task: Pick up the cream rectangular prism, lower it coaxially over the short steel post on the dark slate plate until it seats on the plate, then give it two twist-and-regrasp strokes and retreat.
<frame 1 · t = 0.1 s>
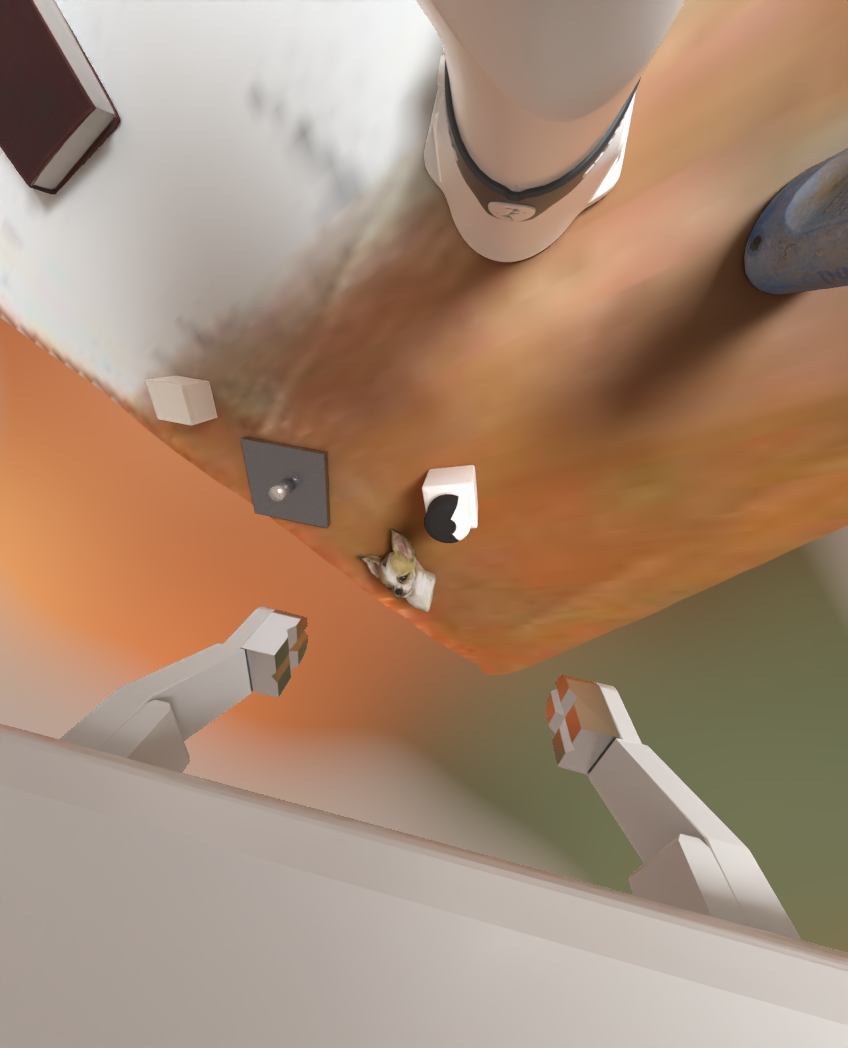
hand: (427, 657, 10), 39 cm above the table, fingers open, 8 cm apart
medicine bottle: (453, 487, 49), on the table
cream rectangular prism: (197, 397, 48), on the table
book: (5, 22, 31), on the table
ceramic sculpture: (406, 560, 59), on the table
grey elongated piece: (802, 234, 30), on the table
post plate: (290, 483, 53), on the table
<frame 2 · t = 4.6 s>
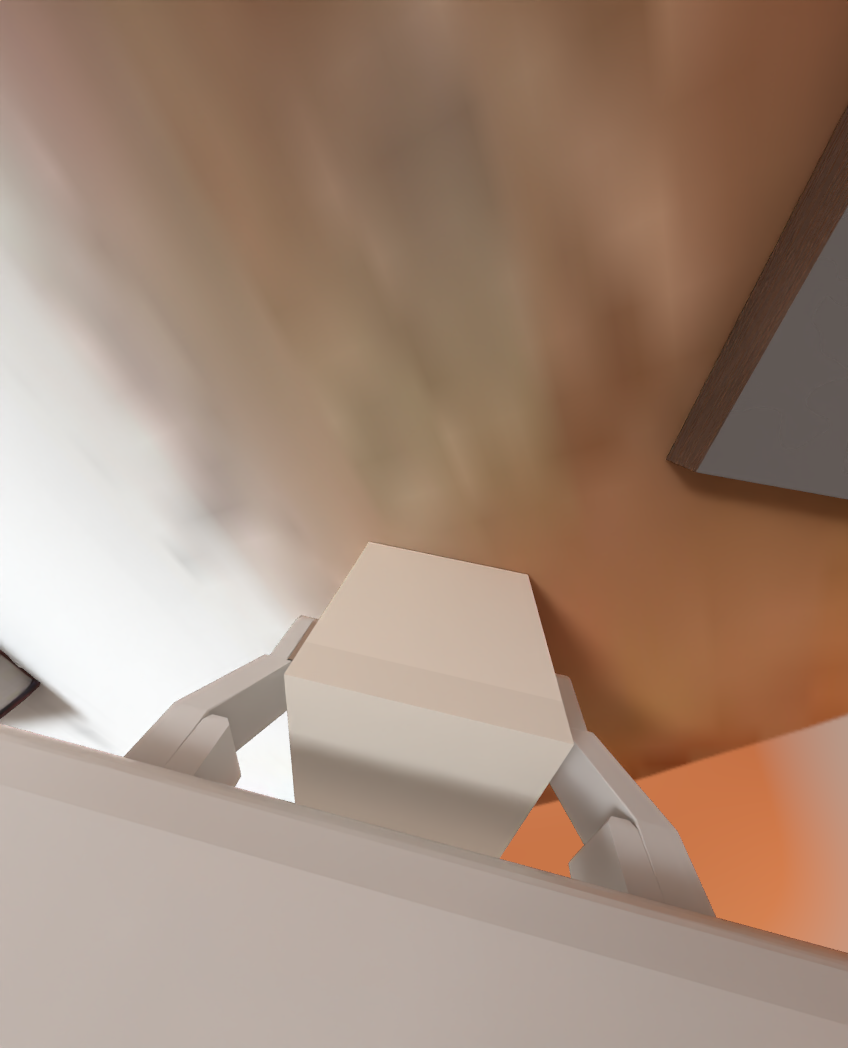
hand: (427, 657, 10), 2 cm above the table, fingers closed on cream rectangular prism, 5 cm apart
cream rectangular prism: (433, 618, 11), on the table, touching gripper
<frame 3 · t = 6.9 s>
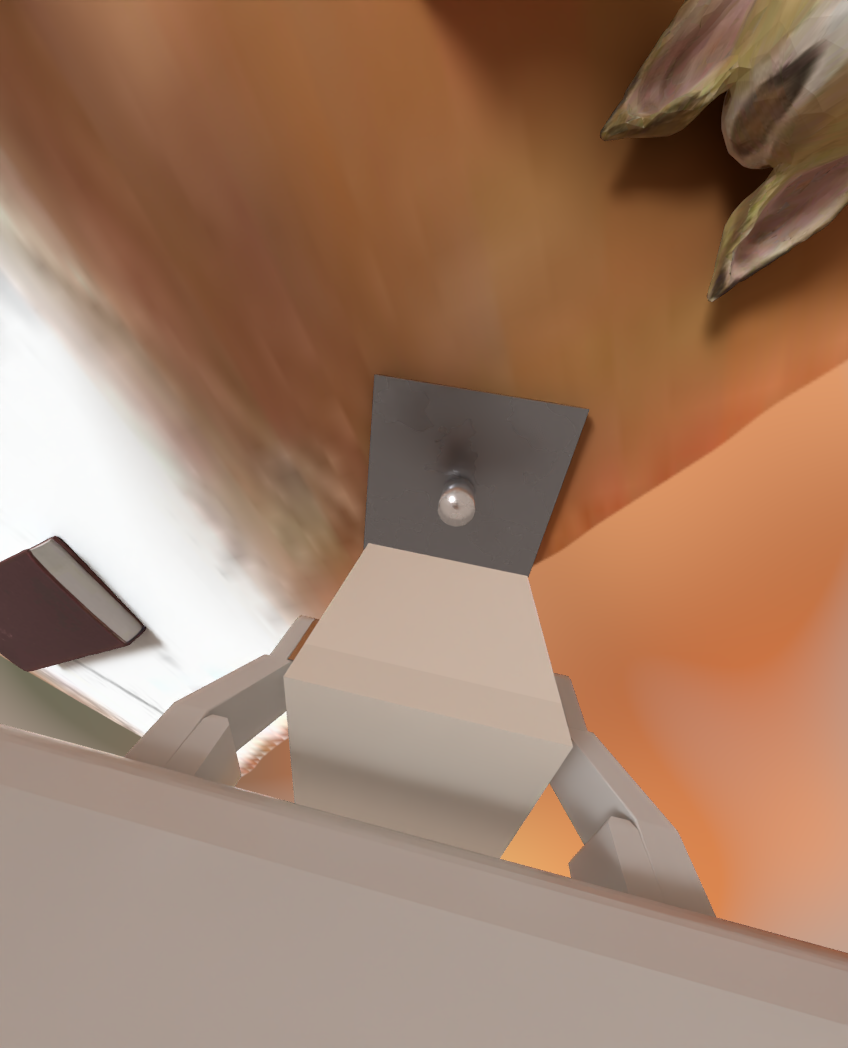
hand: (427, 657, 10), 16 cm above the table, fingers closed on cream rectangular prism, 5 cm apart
cream rectangular prism: (433, 619, 11), point 14 cm above the table, touching gripper
book: (60, 601, 39), on the table
ceramic sculpture: (790, 83, 14), on the table
post plate: (459, 487, 24), on the table
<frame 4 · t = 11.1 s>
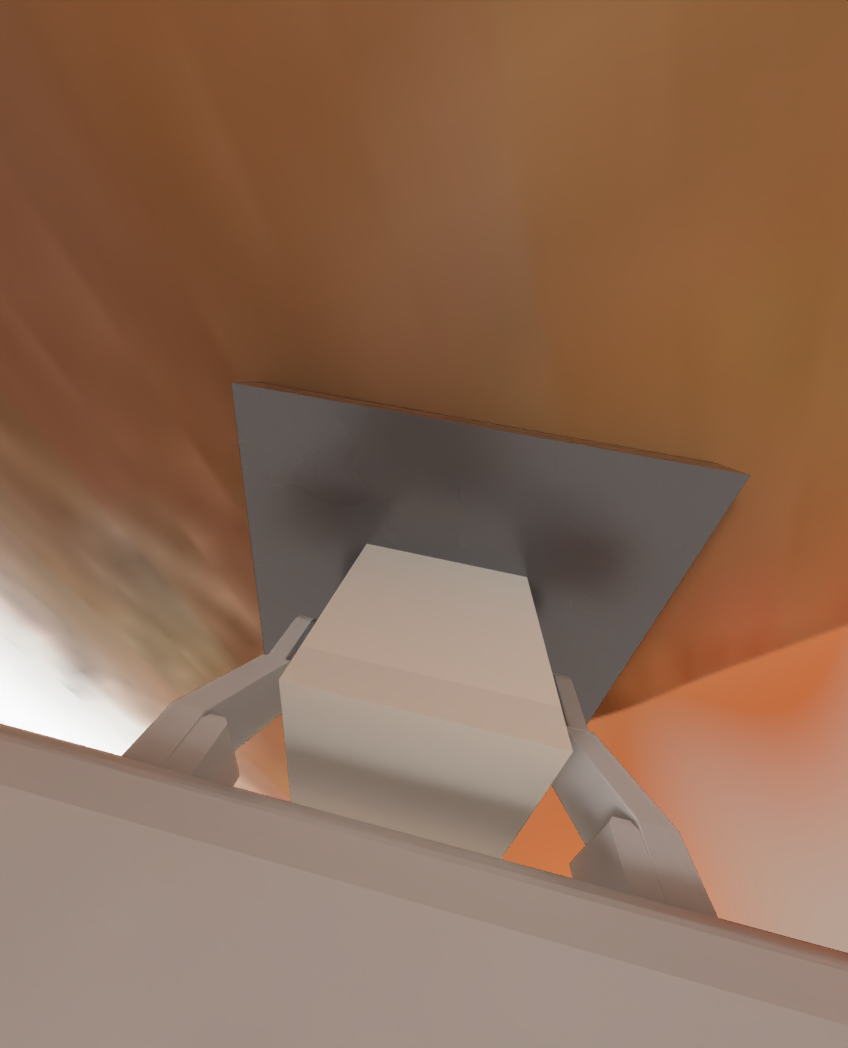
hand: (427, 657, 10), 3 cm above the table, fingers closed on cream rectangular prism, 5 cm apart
cream rectangular prism: (432, 620, 11), point 1 cm above the table, touching gripper, post plate
post plate: (437, 599, 12), on the table
when the fingers open (3 cm above the table, at t = 12.7 s): cream rectangular prism stays where it is, resting on post plate.
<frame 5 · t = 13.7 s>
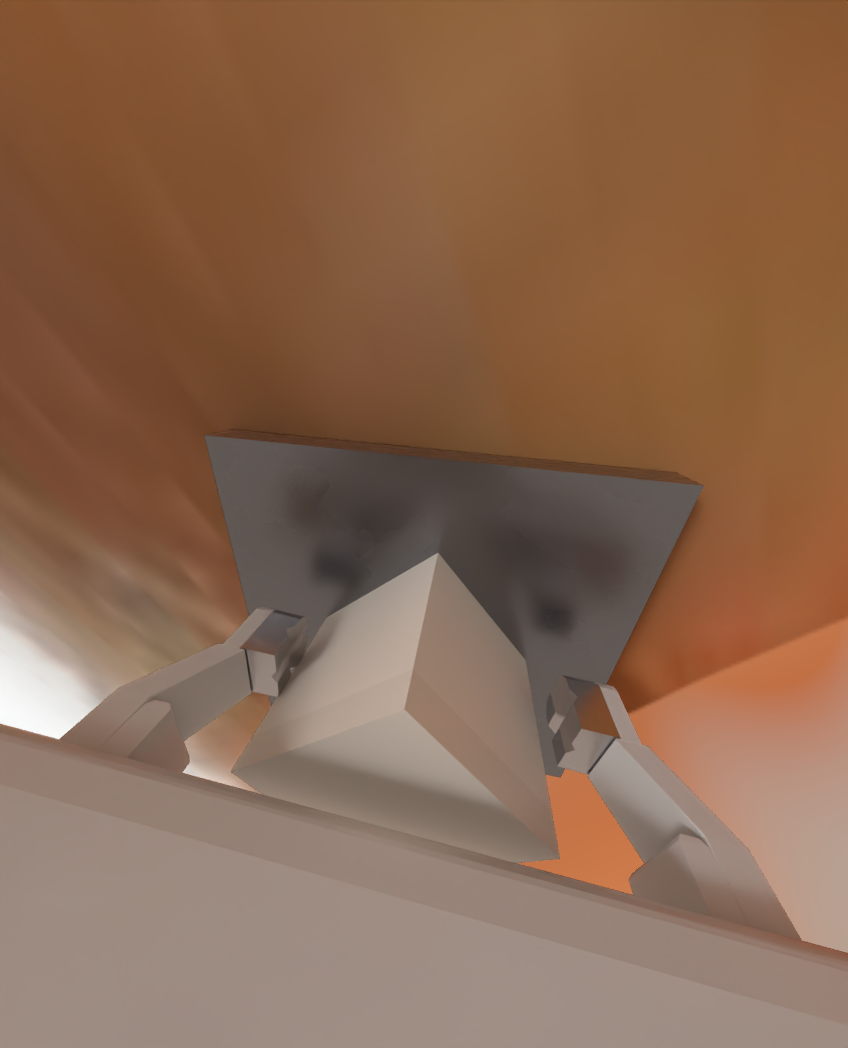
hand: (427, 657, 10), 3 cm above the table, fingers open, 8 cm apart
cream rectangular prism: (423, 638, 12), point 1 cm above the table, touching gripper, post plate
post plate: (422, 618, 13), on the table
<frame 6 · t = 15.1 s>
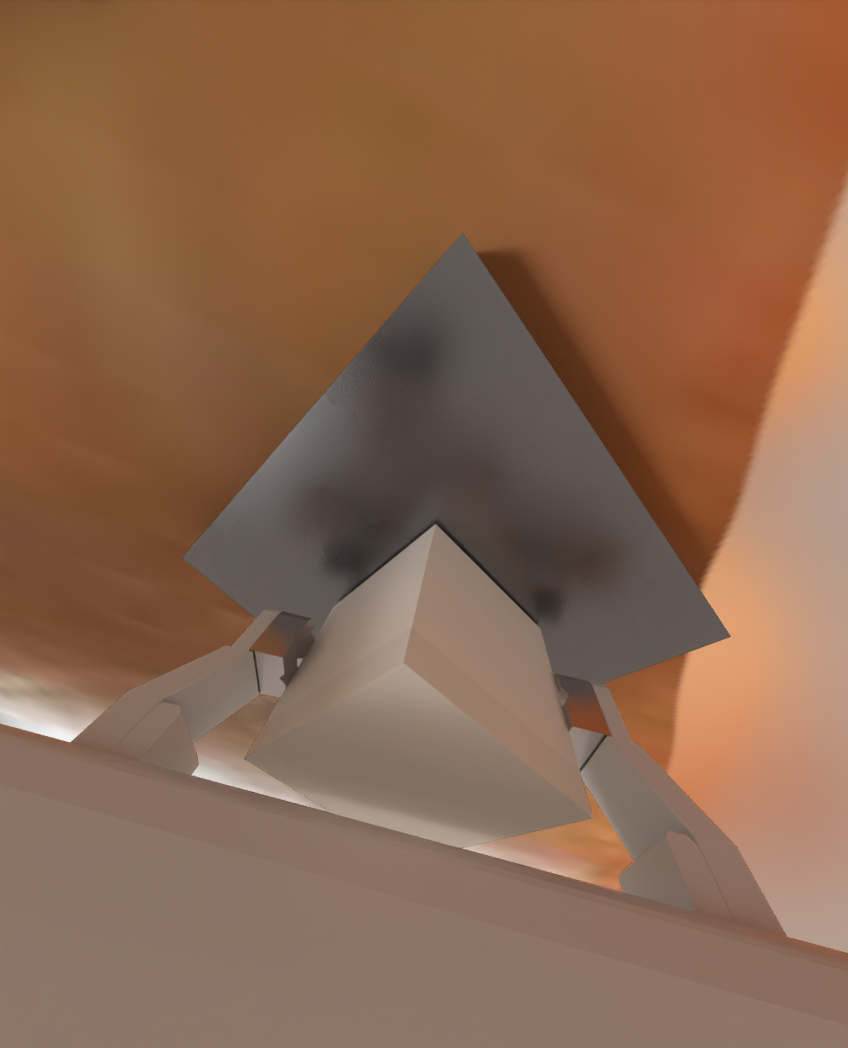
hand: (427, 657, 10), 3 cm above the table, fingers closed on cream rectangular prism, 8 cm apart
cream rectangular prism: (432, 617, 11), point 1 cm above the table, touching gripper
post plate: (434, 574, 12), on the table
when the fingers open (3 cm above the table, at t = 15.8 s): cream rectangular prism stays where it is, resting on post plate.
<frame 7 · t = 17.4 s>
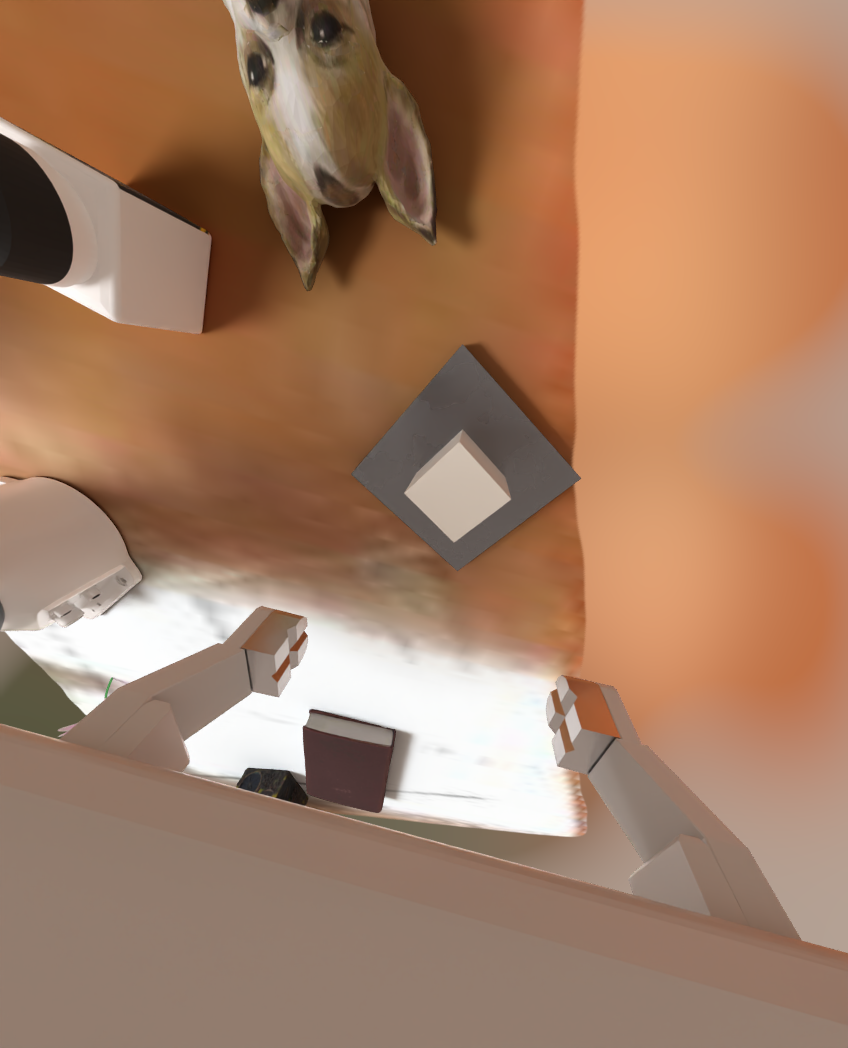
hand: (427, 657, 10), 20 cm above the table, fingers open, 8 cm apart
medicine bottle: (168, 266, 24), on the table
cream rectangular prism: (460, 474, 26), point 1 cm above the table, touching post plate
book: (352, 751, 53), on the table
ceramic sculpture: (345, 139, 20), on the table
yellow holed cube: (278, 781, 61), on the table
post plate: (460, 472, 28), on the table
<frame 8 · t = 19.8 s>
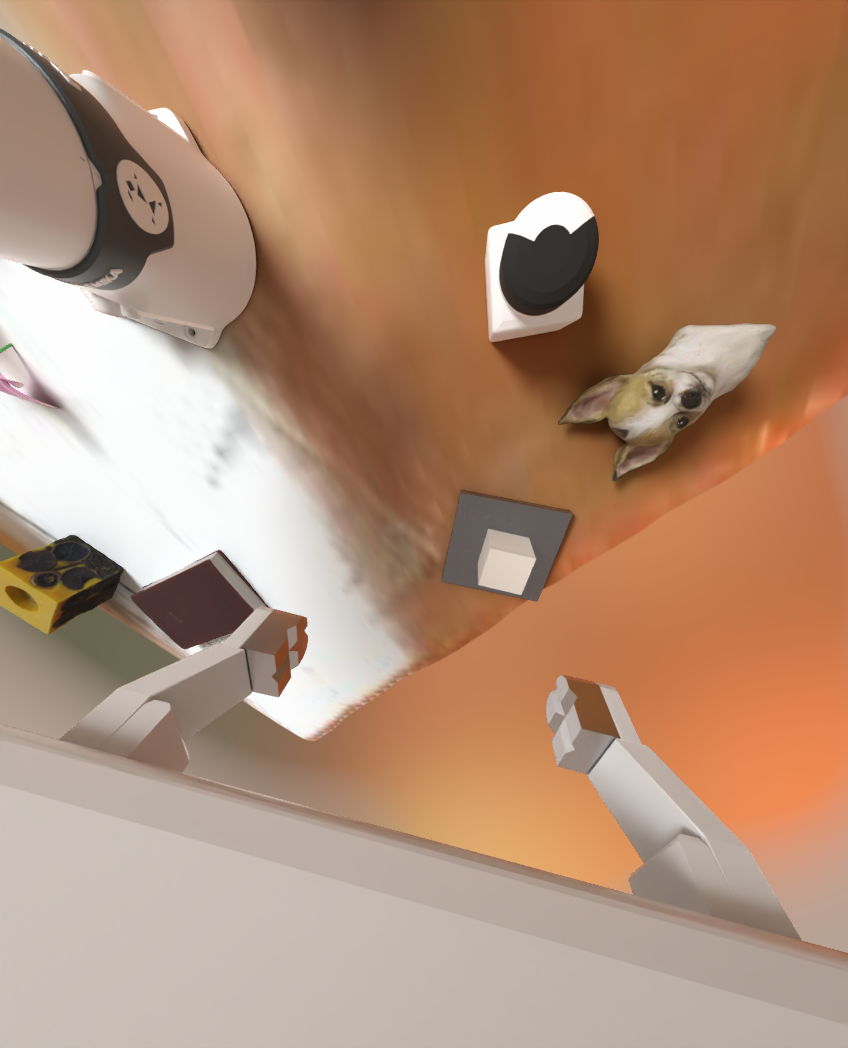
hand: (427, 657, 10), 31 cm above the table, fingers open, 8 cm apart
medicine bottle: (523, 295, 30), on the table
lily: (27, 376, 42), on the table
cream rectangular prism: (502, 550, 41), point 1 cm above the table, touching post plate
book: (209, 596, 56), on the table
ceramic sculpture: (638, 398, 33), on the table
yellow holed cube: (95, 566, 57), on the table
post plate: (500, 546, 42), on the table
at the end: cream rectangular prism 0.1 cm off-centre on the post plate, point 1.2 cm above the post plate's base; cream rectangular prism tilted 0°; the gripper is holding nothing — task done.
